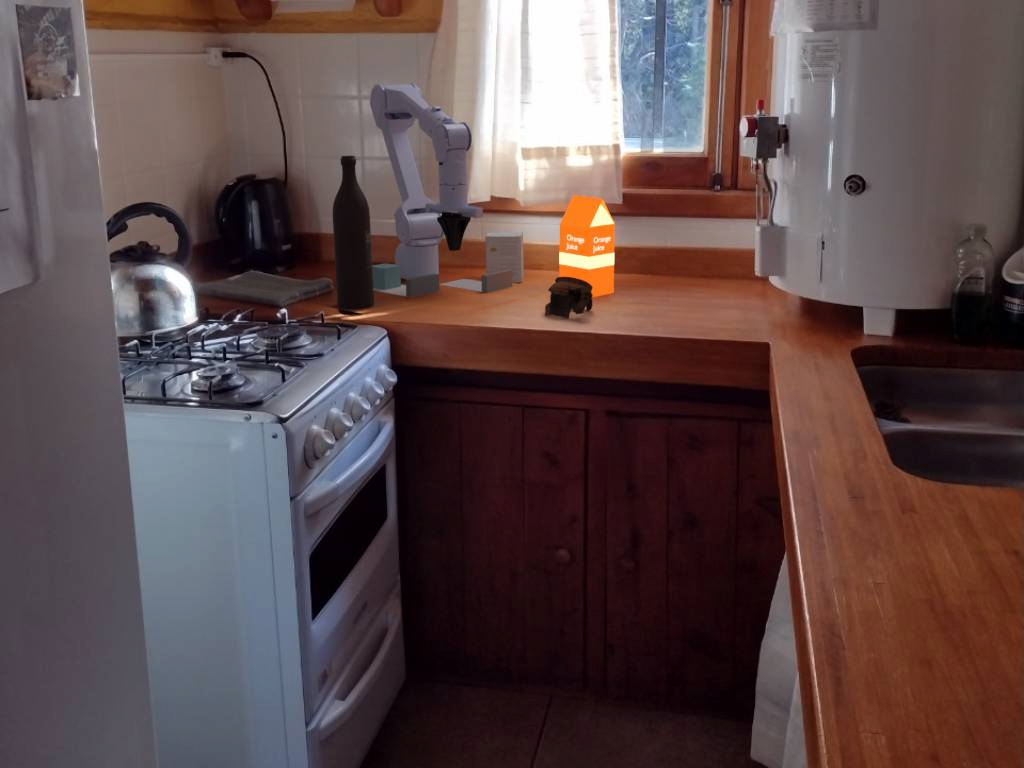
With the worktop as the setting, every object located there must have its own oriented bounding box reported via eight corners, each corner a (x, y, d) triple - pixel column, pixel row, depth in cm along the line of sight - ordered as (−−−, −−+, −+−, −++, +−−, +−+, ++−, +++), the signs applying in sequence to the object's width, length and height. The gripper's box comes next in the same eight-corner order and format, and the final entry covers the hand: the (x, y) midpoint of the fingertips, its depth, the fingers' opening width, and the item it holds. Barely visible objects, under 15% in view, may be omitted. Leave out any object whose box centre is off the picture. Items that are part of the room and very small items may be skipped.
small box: (524, 278, 240) (523, 231, 237) (522, 283, 234) (521, 235, 231) (488, 278, 240) (488, 231, 237) (485, 283, 235) (485, 235, 232)
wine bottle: (375, 314, 206) (367, 157, 197) (338, 316, 205) (329, 158, 196) (373, 307, 212) (366, 154, 204) (337, 308, 211) (329, 155, 203)
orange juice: (588, 298, 219) (589, 200, 213) (558, 291, 225) (558, 196, 219) (614, 292, 224) (616, 197, 218) (584, 286, 230) (585, 193, 224)
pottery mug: (532, 315, 206) (542, 275, 208) (570, 331, 211) (580, 292, 212) (566, 311, 196) (577, 269, 197) (606, 328, 200) (616, 287, 202)
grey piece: (353, 291, 226) (351, 270, 225) (381, 285, 232) (380, 264, 231) (411, 302, 215) (410, 280, 214) (439, 295, 221) (438, 274, 219)
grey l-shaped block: (438, 288, 228) (438, 268, 226) (464, 283, 233) (464, 262, 232) (487, 297, 219) (486, 275, 217) (512, 291, 225) (512, 270, 223)
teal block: (370, 287, 225) (369, 266, 224) (386, 284, 228) (385, 263, 227) (385, 289, 222) (384, 268, 221) (400, 286, 225) (400, 265, 224)
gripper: (414, 183, 218) (416, 249, 222) (465, 187, 209) (466, 256, 213) (438, 180, 223) (440, 244, 227) (489, 184, 214) (490, 251, 218)
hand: (454, 250), depth 220 cm, fingers closed
